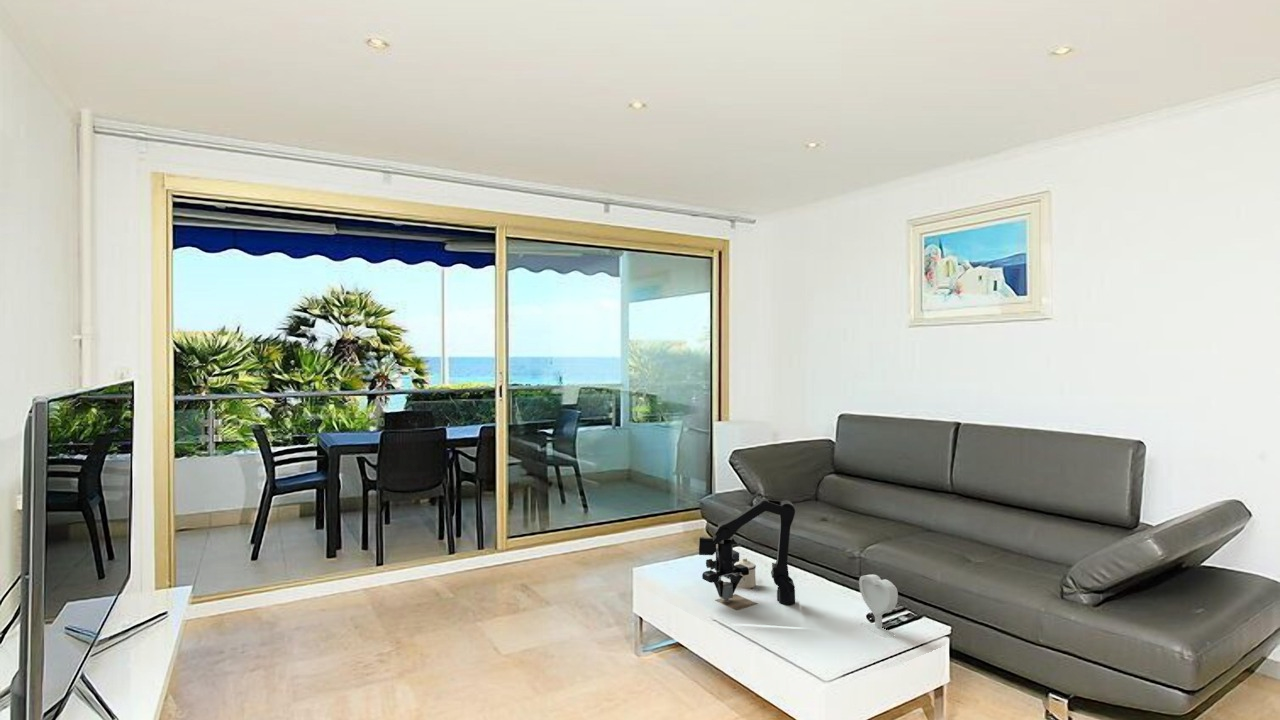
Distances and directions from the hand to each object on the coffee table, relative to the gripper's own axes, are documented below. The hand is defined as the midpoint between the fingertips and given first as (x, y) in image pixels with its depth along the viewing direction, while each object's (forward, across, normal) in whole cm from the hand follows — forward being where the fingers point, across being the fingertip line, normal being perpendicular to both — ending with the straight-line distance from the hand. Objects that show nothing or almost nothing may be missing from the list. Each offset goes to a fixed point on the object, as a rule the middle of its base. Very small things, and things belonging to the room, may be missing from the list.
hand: (726, 595), depth 266 cm
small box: (+3, -21, -28) cm, 35 cm away
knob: (0, 0, 0) cm, 0 cm away
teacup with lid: (+3, -16, -12) cm, 20 cm away
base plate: (+3, -3, +3) cm, 5 cm away
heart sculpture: (+4, -30, +49) cm, 57 cm away
